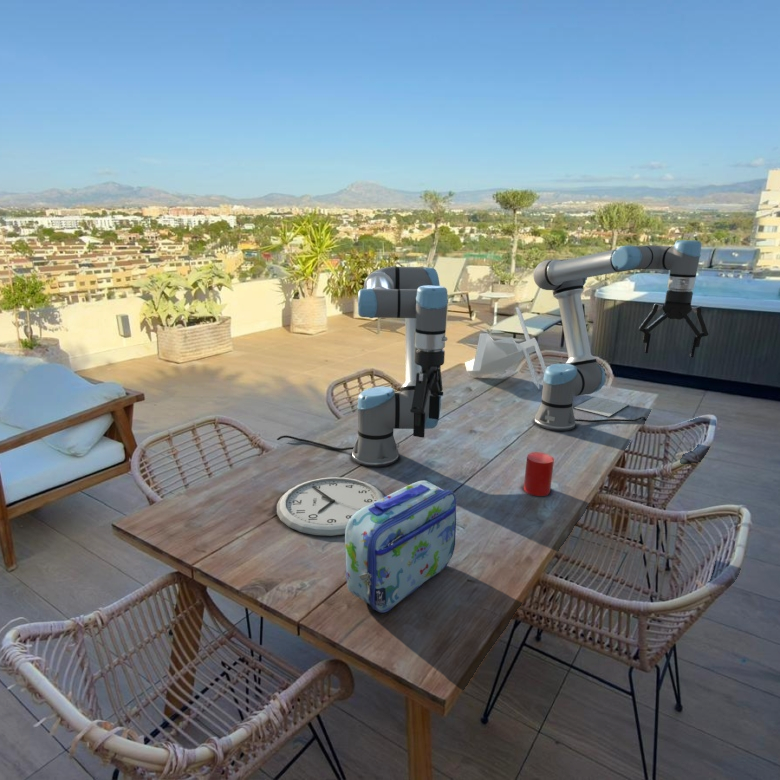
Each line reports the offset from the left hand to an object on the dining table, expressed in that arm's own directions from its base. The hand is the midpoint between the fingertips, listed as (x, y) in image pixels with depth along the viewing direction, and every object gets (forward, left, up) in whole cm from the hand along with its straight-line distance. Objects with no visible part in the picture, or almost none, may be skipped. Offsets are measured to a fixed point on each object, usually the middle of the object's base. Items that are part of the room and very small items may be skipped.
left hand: (426, 427), depth 138 cm
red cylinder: (+27, +22, -23) cm, 42 cm away
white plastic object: (-5, +127, -23) cm, 129 cm away
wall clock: (-22, -12, -23) cm, 34 cm away
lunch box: (+8, -34, -23) cm, 42 cm away
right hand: (+60, +71, +11) cm, 94 cm away
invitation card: (+41, +111, -23) cm, 120 cm away
